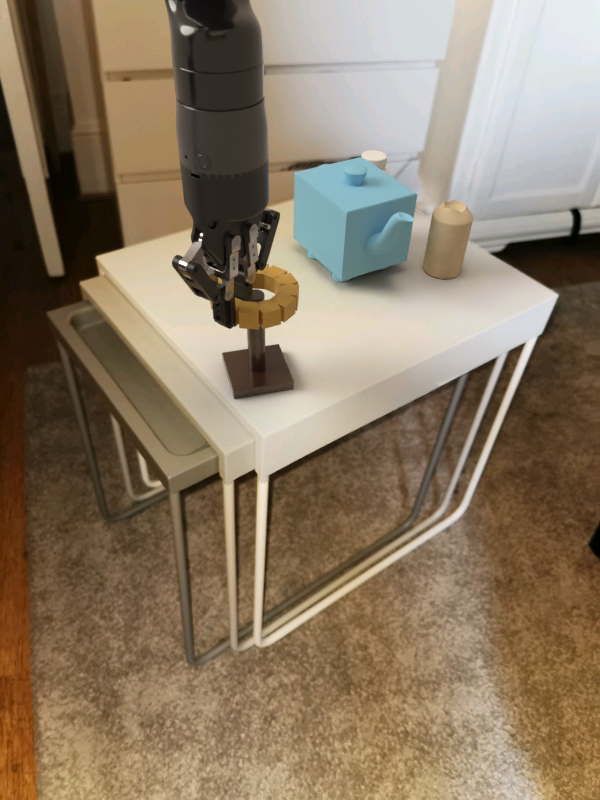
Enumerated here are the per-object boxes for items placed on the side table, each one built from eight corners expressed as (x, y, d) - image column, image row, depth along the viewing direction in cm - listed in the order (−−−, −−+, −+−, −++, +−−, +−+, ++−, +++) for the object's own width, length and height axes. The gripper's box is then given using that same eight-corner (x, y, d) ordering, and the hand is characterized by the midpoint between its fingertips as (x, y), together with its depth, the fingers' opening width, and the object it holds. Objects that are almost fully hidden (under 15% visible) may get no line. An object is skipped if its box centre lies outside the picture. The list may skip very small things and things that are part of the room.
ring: (229, 338, 63) (228, 322, 62) (199, 290, 69) (197, 274, 68) (312, 316, 66) (313, 300, 65) (276, 271, 72) (276, 256, 71)
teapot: (284, 239, 97) (284, 150, 88) (344, 223, 102) (351, 135, 92) (365, 315, 84) (377, 219, 74) (432, 292, 88) (451, 198, 78)
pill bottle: (369, 219, 103) (374, 165, 97) (346, 207, 106) (350, 154, 99) (391, 209, 105) (398, 156, 99) (367, 197, 108) (373, 145, 102)
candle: (449, 283, 90) (464, 218, 83) (415, 270, 92) (426, 205, 85) (467, 267, 93) (482, 203, 86) (434, 254, 95) (446, 191, 88)
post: (233, 399, 72) (228, 318, 64) (222, 360, 77) (216, 280, 69) (293, 388, 73) (295, 308, 65) (278, 351, 78) (279, 272, 70)
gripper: (240, 117, 59) (246, 276, 71) (132, 168, 51) (160, 338, 63) (306, 137, 56) (301, 300, 68) (203, 194, 48) (218, 368, 60)
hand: (233, 318), depth 66 cm, fingers closed on ring, 2 cm apart
